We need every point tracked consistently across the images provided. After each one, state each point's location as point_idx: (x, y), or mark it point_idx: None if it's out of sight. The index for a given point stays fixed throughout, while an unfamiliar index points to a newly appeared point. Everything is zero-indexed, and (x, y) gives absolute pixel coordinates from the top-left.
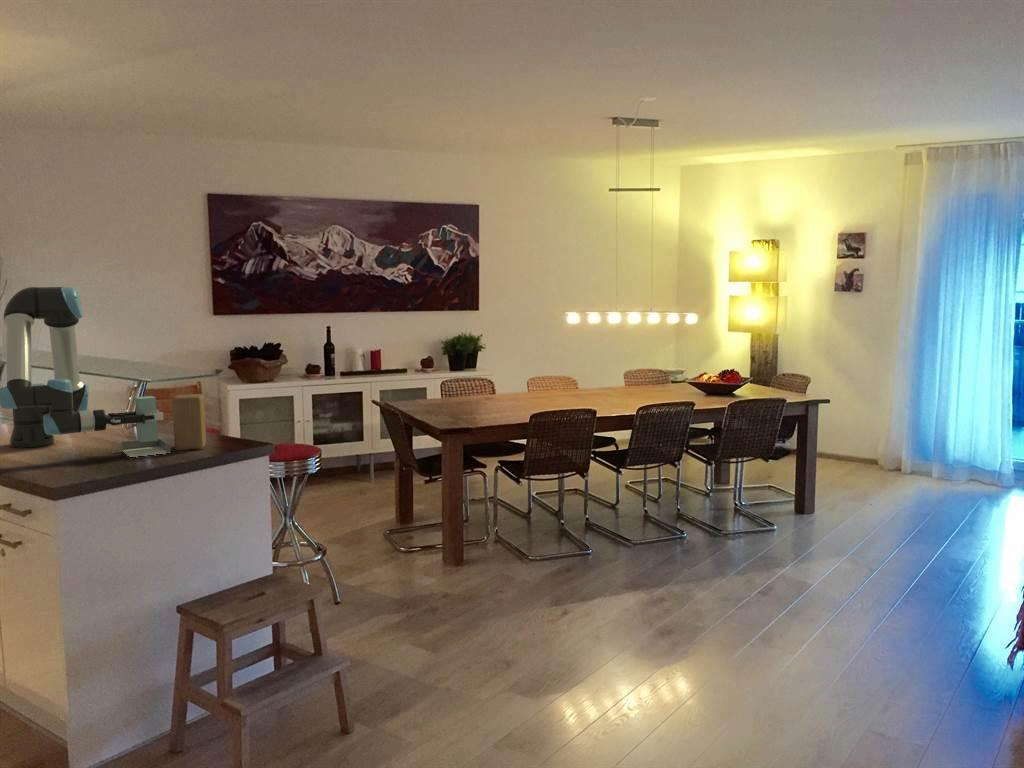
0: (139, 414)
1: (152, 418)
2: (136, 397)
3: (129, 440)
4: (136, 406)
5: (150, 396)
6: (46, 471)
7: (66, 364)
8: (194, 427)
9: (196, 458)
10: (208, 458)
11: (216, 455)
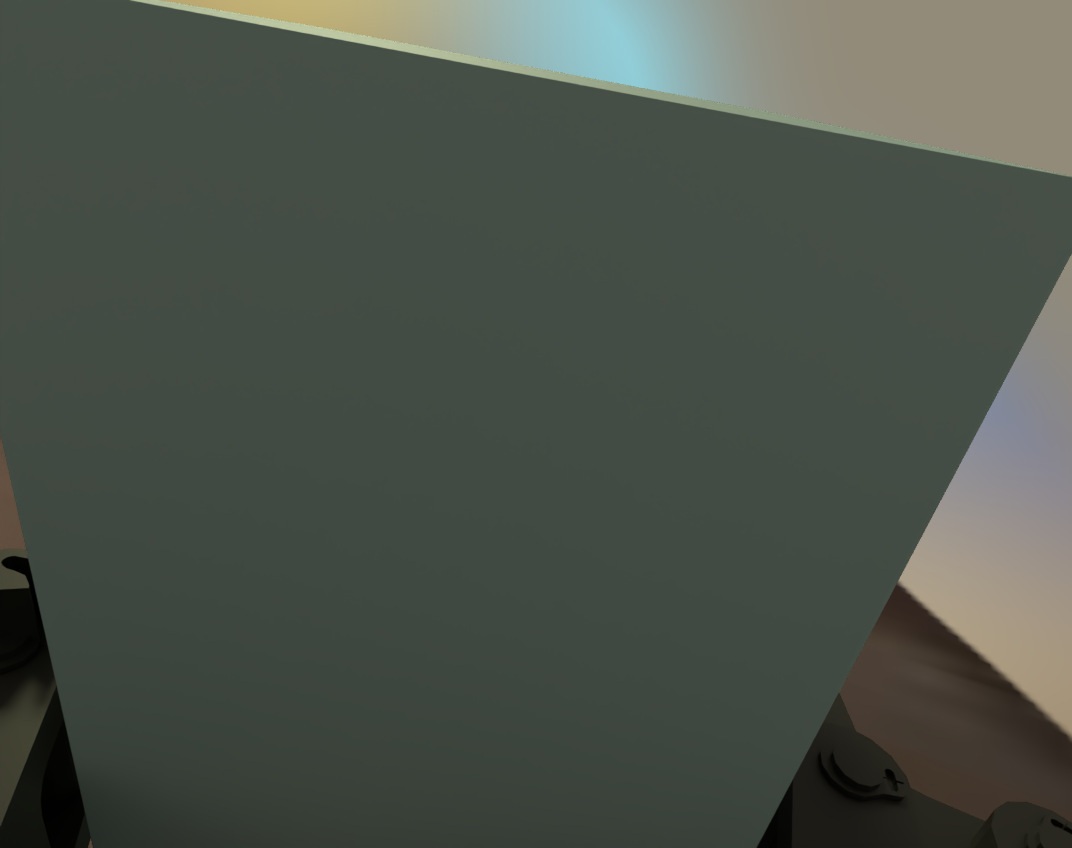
0: (753, 837)
1: None
2: (179, 7)
3: None
4: (283, 557)
5: (402, 43)
6: None
7: None
8: None
9: (1012, 759)
10: (1020, 696)
11: (902, 620)
